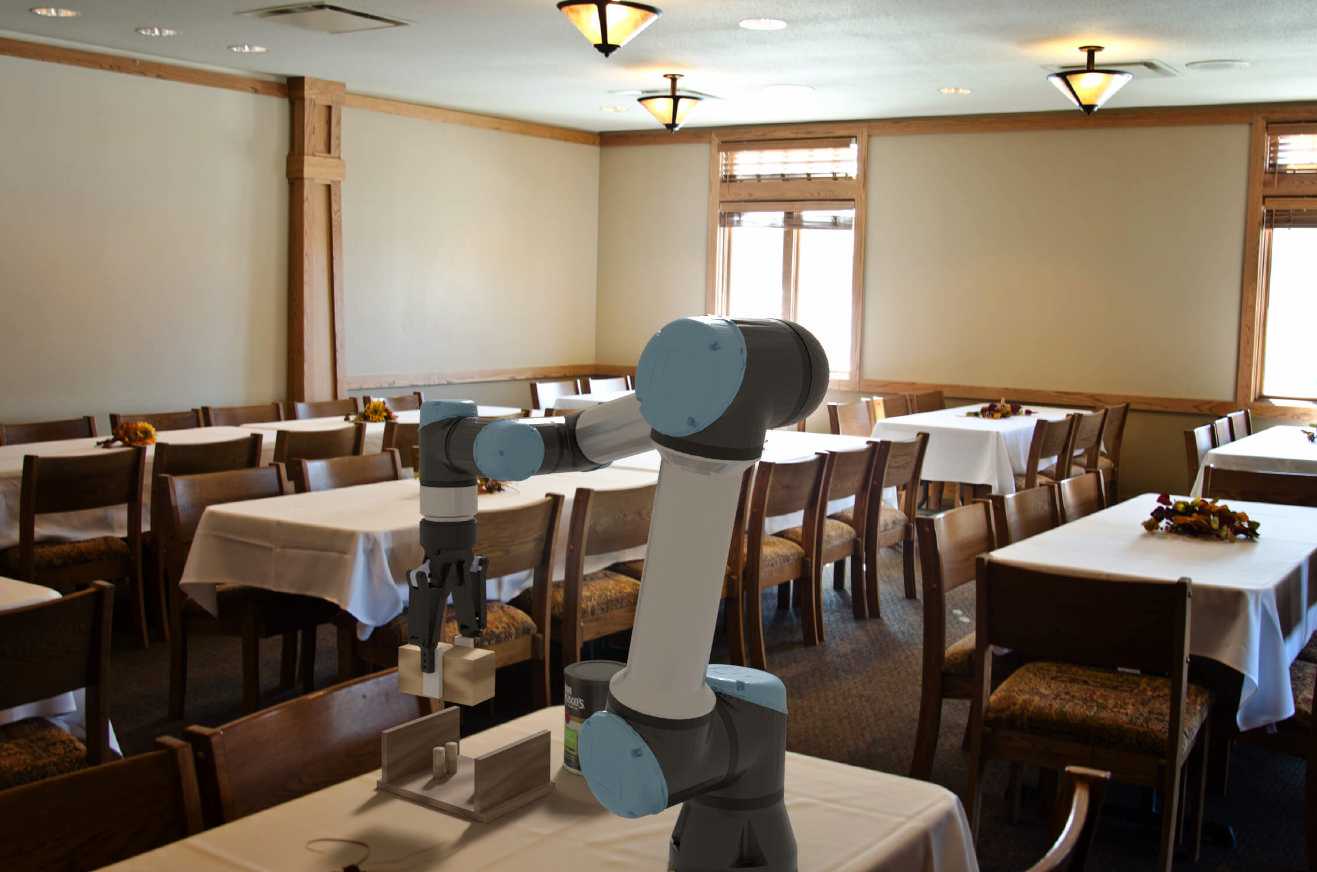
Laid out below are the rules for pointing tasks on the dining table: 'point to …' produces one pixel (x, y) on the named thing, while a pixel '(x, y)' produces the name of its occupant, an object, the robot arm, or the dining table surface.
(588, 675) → the coffee can
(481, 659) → the beam
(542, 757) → the peg frame
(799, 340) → the robot arm
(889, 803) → the dining table surface
